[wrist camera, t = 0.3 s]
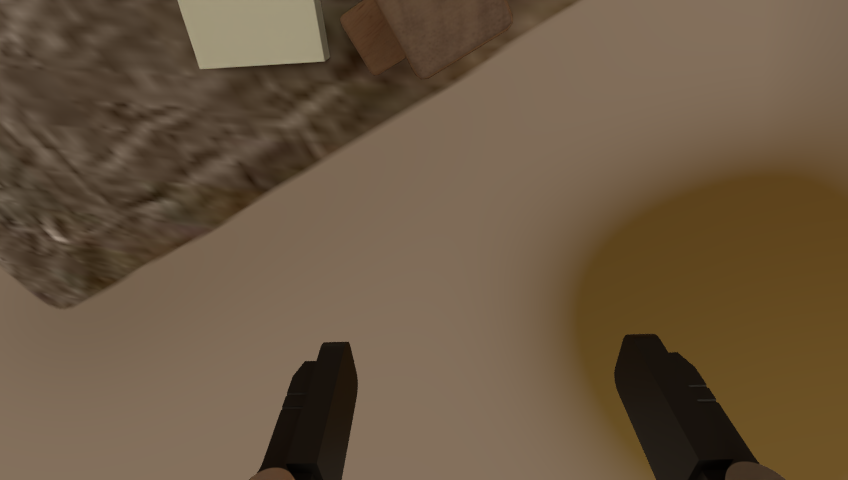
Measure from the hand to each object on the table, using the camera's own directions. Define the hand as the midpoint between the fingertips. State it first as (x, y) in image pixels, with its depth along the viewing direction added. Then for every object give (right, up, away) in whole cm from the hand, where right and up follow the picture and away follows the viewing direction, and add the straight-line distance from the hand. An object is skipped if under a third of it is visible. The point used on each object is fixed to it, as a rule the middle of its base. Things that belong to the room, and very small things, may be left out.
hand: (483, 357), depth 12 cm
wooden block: (-3, +21, +20) cm, 29 cm away
